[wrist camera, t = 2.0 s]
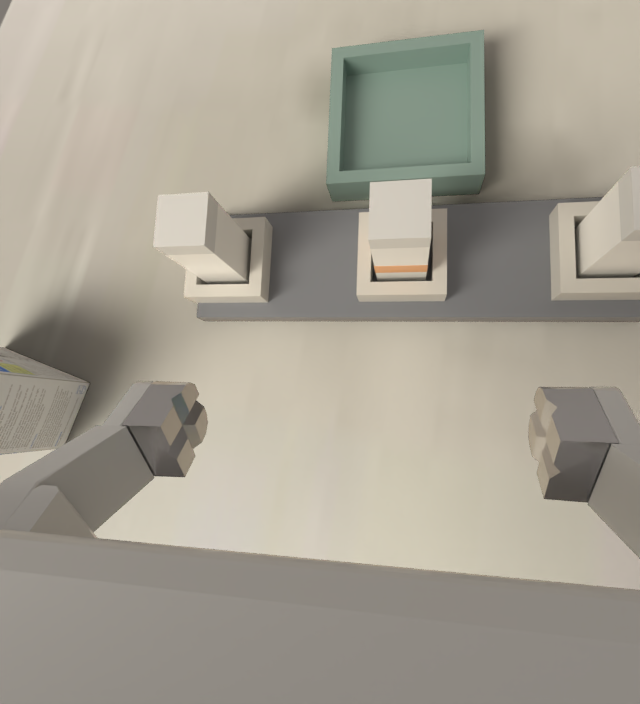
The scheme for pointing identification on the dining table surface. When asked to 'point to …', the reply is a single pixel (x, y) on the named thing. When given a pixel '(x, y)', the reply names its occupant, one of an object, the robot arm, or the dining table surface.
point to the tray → (407, 115)
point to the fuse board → (442, 273)
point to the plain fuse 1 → (202, 238)
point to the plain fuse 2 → (611, 233)
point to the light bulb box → (36, 404)
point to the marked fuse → (400, 229)
